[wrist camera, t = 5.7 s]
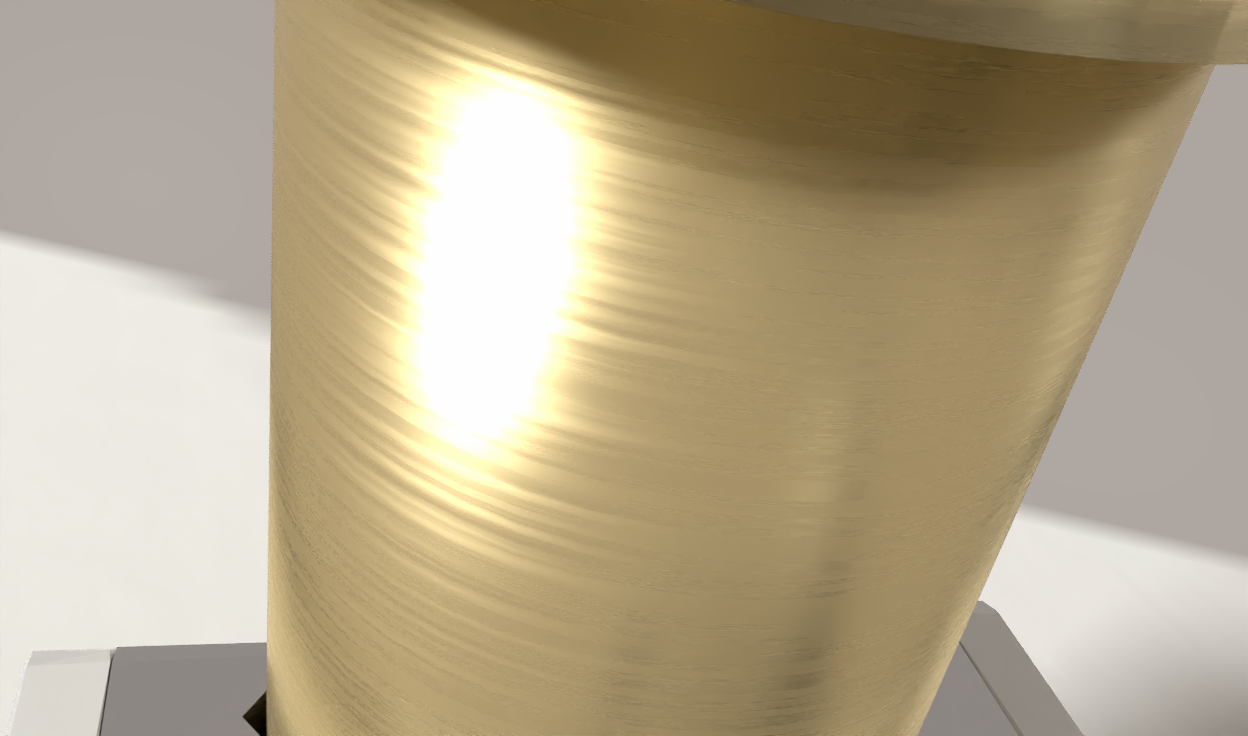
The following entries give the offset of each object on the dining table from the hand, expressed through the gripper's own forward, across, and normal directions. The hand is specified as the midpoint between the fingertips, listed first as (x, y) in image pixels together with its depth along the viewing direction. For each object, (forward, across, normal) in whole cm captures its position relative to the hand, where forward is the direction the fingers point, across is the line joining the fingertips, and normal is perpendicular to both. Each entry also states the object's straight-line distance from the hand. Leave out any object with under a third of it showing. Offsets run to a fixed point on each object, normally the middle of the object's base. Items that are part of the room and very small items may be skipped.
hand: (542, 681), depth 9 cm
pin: (-1, 0, +8) cm, 8 cm away
